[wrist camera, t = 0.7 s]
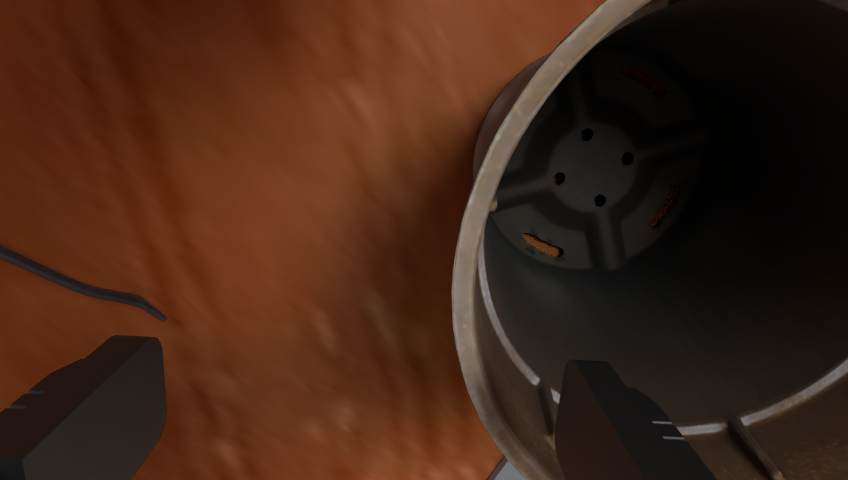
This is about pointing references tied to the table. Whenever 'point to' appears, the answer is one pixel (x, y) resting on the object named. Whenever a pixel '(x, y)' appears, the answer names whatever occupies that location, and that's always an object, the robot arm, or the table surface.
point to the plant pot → (670, 234)
